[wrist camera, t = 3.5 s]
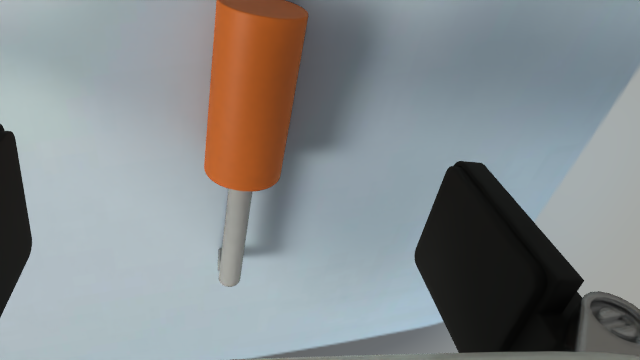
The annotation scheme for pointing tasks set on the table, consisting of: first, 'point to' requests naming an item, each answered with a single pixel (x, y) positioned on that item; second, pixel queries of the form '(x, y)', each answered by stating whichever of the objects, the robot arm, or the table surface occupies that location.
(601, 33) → the table surface
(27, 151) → the table surface
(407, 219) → the table surface
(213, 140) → the screwdriver
